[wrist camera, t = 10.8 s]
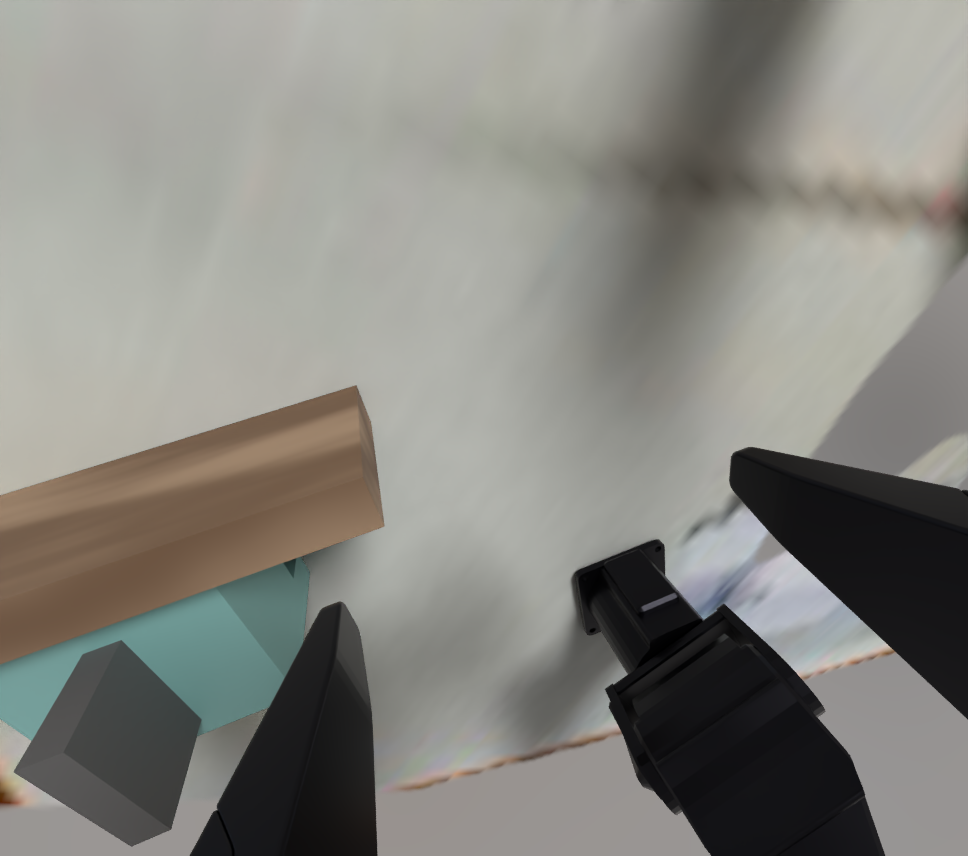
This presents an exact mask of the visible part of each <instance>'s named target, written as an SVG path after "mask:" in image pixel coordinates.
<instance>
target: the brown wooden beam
mask: <svg viewBox="0 0 968 856" xmlns="http://www.w3.org/2000/svg"><path fill="white" fill-rule="evenodd" d="M381 527H384V519H383V511H382V504H381V496H380V488H379V480H378V473H377V465H376V457H375V450H374V442H373V434H372V426H371V421H370V419H369V416H368V414H367V411H366V409H365V406H364V404H363V401H362V399H361V396H360V394H359V391H358V389H357V386H353V387H349V388H346V389H343V390H340V391H336V392H333V393H330V394H327V395H323V396H320V397H317V398H314V399H311V400H307V401H304V402H301V403H298V404H294V405H291V406H288V407H285V408H282V409H278V410H275V411H272V412H269V413H265V414H262V415H259V416H256V417H252V418H249V419H246V420H243V421H240V422H236V423H233V424H230V425H227V426H223V427H220V428H217V429H214V430H211V431H207V432H204V433H201V434H198V435H194V436H191V437H188V438H185V439H182V440H178V441H175V442H172V443H169V444H165V445H162V446H159V447H156V448H152V449H149V450H146V451H143V452H140V453H136V454H133V455H130V456H127V457H123V458H120V459H117V460H114V461H111V462H107V463H104V464H101V465H98V466H94V467H91V468H88V469H85V470H81V471H78V472H75V473H72V474H69V475H65V476H62V477H59V478H56V479H52V480H49V481H46V482H43V483H40V484H36V485H33V486H30V487H27V488H23V489H20V490H17V491H14V492H10V493H7V494H4V495H1V496H0V664H3V663H6V662H8V661H11V660H14V659H17V658H20V657H22V656H25V655H28V654H31V653H33V652H36V651H39V650H42V649H45V648H47V647H50V646H53V645H56V644H59V643H61V642H64V641H67V640H70V639H72V638H75V637H78V636H81V635H84V634H86V633H89V632H92V631H95V630H98V629H100V628H103V627H106V626H109V625H111V624H114V623H117V622H120V621H123V620H125V619H128V618H131V617H134V616H136V615H139V614H142V613H145V612H148V611H150V610H153V609H156V608H159V607H162V606H164V605H167V604H170V603H173V602H175V601H178V600H181V599H184V598H187V597H189V596H192V595H195V594H198V593H201V592H203V591H206V590H209V589H212V588H214V587H217V586H220V585H223V584H226V583H228V582H231V581H234V580H237V579H239V578H242V577H245V576H248V575H251V574H253V573H256V572H259V571H262V570H265V569H267V568H270V567H273V566H276V565H278V564H281V563H284V562H287V561H290V560H292V559H295V558H298V557H301V556H304V555H306V554H309V553H312V552H315V551H317V550H320V549H323V548H326V547H329V546H331V545H334V544H337V543H340V542H342V541H345V540H348V539H351V538H354V537H356V536H359V535H362V534H365V533H368V532H370V531H373V530H376V529H379V528H381Z"/></svg>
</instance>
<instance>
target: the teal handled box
mask: <svg viewBox="0 0 968 856" xmlns="http://www.w3.org/2000/svg"><path fill="white" fill-rule="evenodd" d="M309 576H310V572H309V570H308V569H307V567H306V565H305V564H304V562H303V560H302V559H301V557H298V558H295V559H292V560H290V561H287V562H284V563H281V564H278V565H276V566H273V567H270V568H267V569H265V570H262V571H259V572H256V573H253V574H251V575H248V576H245V577H242V578H239V579H237V580H234V581H231V582H228V583H226V584H223V585H220V586H217V587H214V588H212V589H209V590H206V591H203V592H201V593H198V594H195V595H192V596H189V597H187V598H184V599H181V600H178V601H175V602H173V603H170V604H167V605H164V606H162V607H159V608H156V609H153V610H150V611H148V612H145V613H142V614H139V615H136V616H134V617H131V618H128V619H125V620H123V621H120V622H117V623H114V624H111V625H109V626H106V627H103V628H100V629H98V630H95V631H92V632H89V633H86V634H84V635H81V636H78V637H75V638H72V639H70V640H67V641H64V642H61V643H59V644H56V645H53V646H50V647H47V648H45V649H42V650H39V651H36V652H33V653H31V654H28V655H25V656H22V657H20V658H17V659H14V660H11V661H8V662H6V663H3V664H0V719H1V720H3V721H4V722H5V723H7V724H8V725H10V726H11V727H13V728H14V729H15V730H17V731H18V732H20V733H21V734H23V735H24V736H25V737H27V738H28V739H30V740H31V743H30V745H29V747H28V748H27V750H26V752H25V753H24V755H23V757H22V758H21V760H20V762H19V764H18V765H17V767H16V769H15V770H14V773H16V774H17V775H19V776H20V777H22V778H24V779H25V780H27V781H28V782H30V783H32V784H33V785H35V786H36V787H38V788H39V789H41V790H43V791H44V792H46V793H47V794H49V795H50V796H52V797H54V798H55V799H57V800H58V801H60V802H62V803H63V804H65V805H66V806H68V807H69V808H71V809H73V810H74V811H76V812H77V813H79V814H81V815H82V816H84V817H85V818H87V819H89V820H90V821H92V822H93V823H95V824H97V825H98V826H99V827H101V828H103V829H105V830H106V831H108V832H109V833H111V834H112V835H114V836H115V837H117V838H119V839H120V840H122V841H123V842H125V843H127V844H128V845H130V846H134V845H136V844H139V843H141V842H143V841H145V840H148V839H150V838H152V837H155V836H157V835H159V834H161V833H164V832H166V831H169V830H171V828H172V824H173V820H174V817H175V813H176V810H177V806H178V803H179V799H180V795H181V792H182V788H183V785H184V781H185V777H186V774H187V770H188V767H189V763H190V759H191V756H192V752H193V749H194V745H195V741H196V738H197V736H199V735H202V734H204V733H206V732H209V731H211V730H214V729H216V728H219V727H221V726H224V725H226V724H229V723H231V722H234V721H236V720H238V719H241V718H243V717H246V716H248V715H251V714H253V713H256V712H258V711H261V710H263V709H266V708H268V707H269V706H270V704H271V702H272V700H273V699H274V697H275V695H276V693H277V691H278V689H279V687H280V685H281V683H282V682H283V680H284V678H285V676H286V674H287V672H288V670H289V668H290V666H291V665H292V663H293V661H294V659H295V657H296V655H297V653H298V651H299V649H300V648H301V646H302V644H303V640H304V630H305V619H306V608H307V597H308V587H309Z"/></svg>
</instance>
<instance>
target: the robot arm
mask: <svg viewBox="0 0 968 856" xmlns="http://www.w3.org/2000/svg"><path fill="white" fill-rule="evenodd" d="M729 482H730V486H731V488H732V490H733V491H734V493H735V494H736V495H737V496H738V497H739V498H740V499H741V500H742V502H743V503H744V504H745V505H746V506H747V507H748V508H749V509H750V511H751V512H752V513H753V514H754V515H755V516H756V517H757V518H758V520H759V521H760V522H761V523H762V524H763V525H764V526H765V528H766V529H767V530H768V531H769V532H770V533H771V534H772V535H773V536H774V537H775V539H776V540H777V541H778V542H779V543H780V544H781V545H782V546H783V547H784V548H785V549H786V550H787V551H788V552H789V553H791V554H792V555H793V556H794V557H795V558H796V559H797V560H798V561H799V562H800V563H801V564H802V565H803V566H804V567H805V568H807V569H808V570H809V571H810V572H811V573H812V574H813V575H814V576H815V577H816V578H817V579H818V580H819V581H820V582H822V583H823V584H824V585H825V586H826V587H827V588H828V589H829V590H830V591H831V592H832V593H833V594H834V595H835V596H836V597H838V598H839V599H840V600H841V601H842V602H843V603H844V604H845V605H846V606H847V607H848V608H849V609H850V610H851V611H852V612H854V613H855V614H856V615H857V616H858V617H859V618H860V619H861V620H862V621H863V622H864V623H865V624H866V625H867V626H869V627H870V628H871V629H872V630H873V631H874V632H875V633H876V634H877V635H878V636H879V637H880V638H881V639H882V640H883V641H885V642H886V643H887V644H888V645H889V646H890V647H891V648H892V649H893V650H894V651H895V652H896V653H897V654H898V655H900V656H901V657H902V658H903V659H904V660H905V661H906V662H907V663H908V664H909V665H910V666H911V667H912V668H913V669H914V670H916V671H917V672H918V673H919V674H920V675H921V676H922V677H923V678H924V679H925V680H926V681H927V682H928V683H930V684H931V685H932V686H933V687H934V688H935V689H936V690H937V691H938V692H939V693H940V694H941V695H942V696H943V697H944V698H945V699H947V700H948V701H949V702H950V703H951V704H952V705H953V706H954V707H955V708H956V709H957V710H958V711H960V713H962V714H963V715H964V716H965V717H966V718H967V719H968V490H962V491H961V490H960V489H957V488H953V487H948V486H943V485H938V484H933V483H928V482H923V481H918V480H913V479H908V478H903V477H898V476H893V475H888V474H883V473H879V472H874V471H869V470H864V469H859V468H853V467H849V466H844V465H838V464H834V463H829V462H824V461H819V460H814V459H809V458H804V457H799V456H794V455H790V454H785V453H780V452H775V451H770V450H765V449H760V448H755V447H747V448H744V449H741V450H739V451H736V452H734V453H733V454H732V456H731V463H730V477H729ZM575 578H576V584H577V590H578V596H579V603H580V609H581V615H582V621H583V627H584V630H585V632H586V633H587V635H594V634H596V633H598V632H601V631H602V633H603V634H604V636H605V638H606V639H607V641H608V643H609V644H610V646H611V648H612V649H613V651H614V652H615V654H616V656H617V657H618V659H619V661H620V662H621V664H622V666H623V667H624V669H625V670H626V672H627V674H628V675H627V676H625V677H624V678H623V679H621V680H620V681H618V682H617V683H616V684H614V685H613V684H611V685H610V686H608V687H607V688H606V689H605V690H606V692H607V694H608V697H609V699H610V701H611V702H610V703H609V704H610V705H609V709H610V711H611V712H612V714H613V716H614V718H615V720H616V722H617V724H618V726H619V728H620V730H621V732H622V734H623V736H624V739H625V742H626V745H627V748H628V751H629V754H630V757H631V761H632V764H633V767H634V770H635V773H636V776H637V778H638V780H639V782H640V783H641V785H642V786H643V787H644V788H647V789H649V790H652V791H654V792H655V793H656V794H657V795H658V796H659V798H660V799H661V800H663V802H664V803H665V804H666V806H667V807H668V808H669V809H670V810H671V811H672V812H673V813H674V814H675V815H678V814H679V813H681V812H682V811H683V813H684V815H685V816H686V818H687V819H688V821H689V823H690V824H691V826H692V827H693V829H694V831H695V832H696V834H697V835H698V837H699V838H700V840H701V842H702V843H703V845H704V847H705V848H706V849H707V851H708V852H709V853H710V855H711V856H885V854H884V851H883V848H882V845H881V842H880V839H879V836H878V833H877V830H876V827H875V825H874V822H873V819H872V816H871V813H870V810H869V807H868V804H867V801H866V798H865V793H864V790H863V787H862V785H861V782H860V780H859V777H858V775H857V772H856V770H855V767H854V764H853V761H852V759H851V757H850V755H849V754H848V752H847V751H846V750H845V749H844V747H843V746H842V745H841V744H840V743H839V742H838V741H837V739H836V738H835V737H834V736H833V735H832V734H831V733H830V732H829V730H828V729H827V728H826V727H825V726H824V725H823V724H822V722H820V720H819V719H818V718H817V717H819V716H820V715H822V714H823V713H824V712H825V709H824V707H823V705H822V704H821V703H820V701H819V700H818V698H817V697H816V696H815V695H814V693H813V692H812V691H811V690H810V688H809V687H808V686H807V685H806V684H805V683H804V681H803V680H802V679H801V678H800V677H799V676H798V675H797V673H796V672H795V671H794V670H793V669H792V668H791V667H790V666H789V665H788V664H787V663H786V662H785V661H784V660H783V659H782V658H781V657H780V656H779V655H778V654H777V653H776V652H775V651H774V650H773V649H772V648H771V647H770V646H769V645H768V644H767V643H766V642H765V641H764V640H763V639H761V638H760V637H759V636H758V635H757V634H756V633H755V632H754V631H753V630H752V629H751V628H750V627H749V626H747V625H746V624H745V623H744V622H743V621H742V620H741V619H740V618H739V617H738V616H737V615H736V614H735V613H733V612H732V611H731V610H730V609H729V608H728V607H727V606H726V605H725V604H722V605H721V606H720V607H718V608H717V611H716V612H714V613H713V614H711V615H710V616H709V617H707V618H706V619H705V620H703V619H702V617H701V616H700V615H699V614H698V613H697V612H696V611H695V609H694V608H693V607H692V606H691V605H690V604H689V603H688V601H687V600H686V599H685V598H684V597H683V596H682V595H681V593H680V592H679V591H678V590H677V589H676V588H675V587H674V585H673V584H672V583H671V582H670V581H669V580H668V579H667V578H666V576H665V547H664V544H663V543H662V542H661V541H660V540H653V541H651V542H648V543H646V544H643V545H641V546H638V547H636V548H633V549H631V550H628V551H626V552H623V553H621V554H618V555H616V556H613V557H611V558H608V559H606V560H603V561H601V562H598V563H596V564H593V565H591V566H588V567H586V568H583V569H581V570H579V571H578V572H577V573H576V575H575ZM375 804H376V803H375V776H374V749H373V724H372V711H371V703H370V696H369V689H368V683H367V676H366V669H365V663H364V656H363V649H362V643H361V636H360V632H359V629H358V627H357V625H356V623H355V621H354V619H353V618H352V616H351V614H350V612H349V610H348V609H347V607H346V605H345V604H344V603H343V602H337V603H334V604H332V605H329V606H326V607H324V608H322V609H321V611H320V612H319V614H318V616H317V617H316V619H315V621H314V623H313V625H312V627H311V629H310V631H309V633H308V634H307V636H306V638H305V640H304V642H303V644H302V646H301V648H300V649H299V651H298V653H297V655H296V657H295V659H294V661H293V663H292V665H291V666H290V668H289V670H288V672H287V674H286V676H285V678H284V680H283V682H282V683H281V685H280V687H279V689H278V691H277V693H276V695H275V697H274V699H273V700H272V702H271V704H270V706H269V708H268V710H267V712H266V714H265V716H264V717H263V719H262V721H261V723H260V725H259V727H258V729H257V731H256V732H255V734H254V736H253V738H252V740H251V742H250V744H249V746H248V748H247V749H246V751H245V753H244V755H243V757H242V759H241V761H240V763H239V765H238V766H237V768H236V770H235V772H234V774H233V776H232V778H231V780H230V782H229V783H228V785H227V787H226V789H225V791H224V793H223V795H222V797H221V798H220V800H219V802H218V804H217V809H218V810H216V811H214V812H213V813H212V815H211V817H210V819H209V821H208V823H207V825H206V826H205V828H204V830H203V832H202V834H201V836H200V838H199V840H198V841H197V843H196V845H195V847H194V849H193V850H192V852H191V854H190V856H377V831H376V805H375Z"/></svg>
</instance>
